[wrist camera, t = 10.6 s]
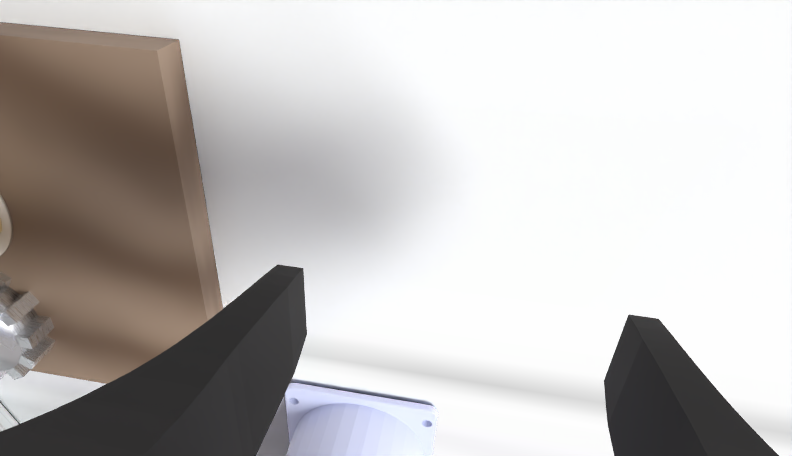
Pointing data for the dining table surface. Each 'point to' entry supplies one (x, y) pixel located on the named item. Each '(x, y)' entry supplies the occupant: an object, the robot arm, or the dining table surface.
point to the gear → (21, 331)
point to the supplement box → (6, 419)
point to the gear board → (102, 196)
